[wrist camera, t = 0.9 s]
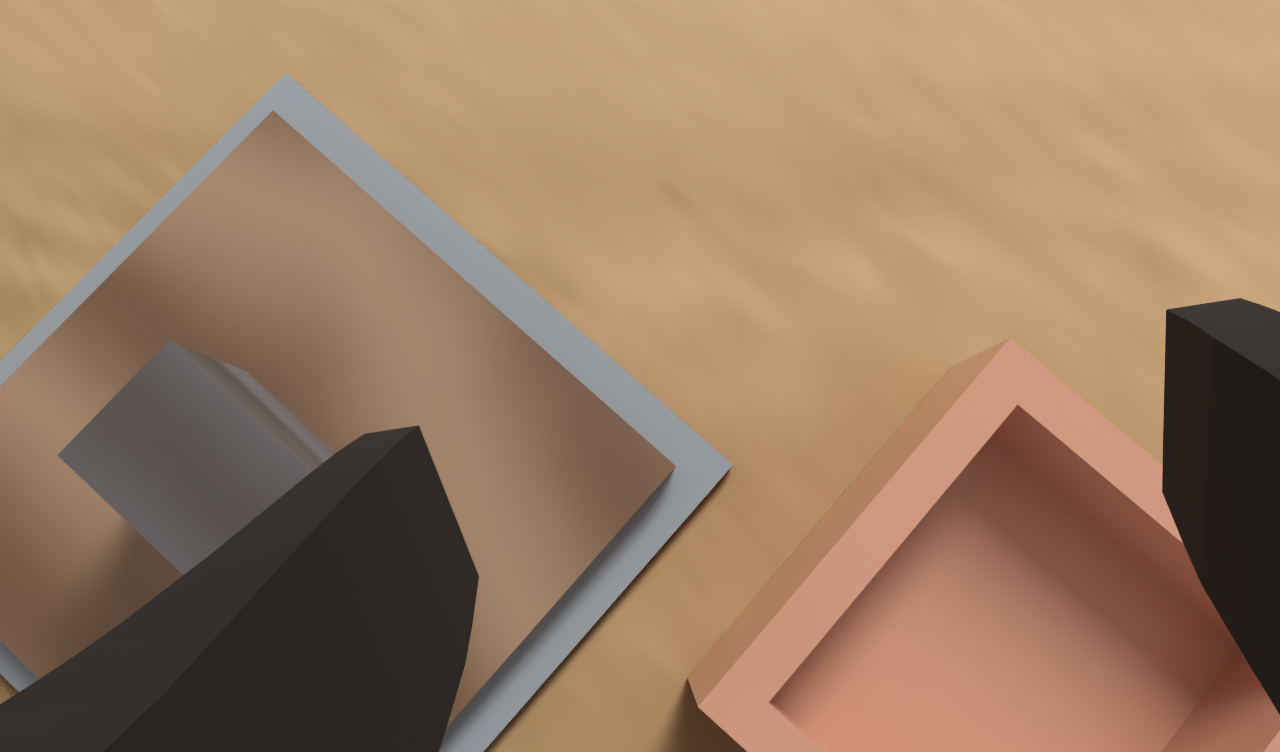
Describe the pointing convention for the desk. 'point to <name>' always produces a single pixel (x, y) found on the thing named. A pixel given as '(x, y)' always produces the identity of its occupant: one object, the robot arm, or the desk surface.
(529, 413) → the walnut lid
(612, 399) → the rubber mat
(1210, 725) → the pink open box
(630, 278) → the desk surface
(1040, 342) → the desk surface
